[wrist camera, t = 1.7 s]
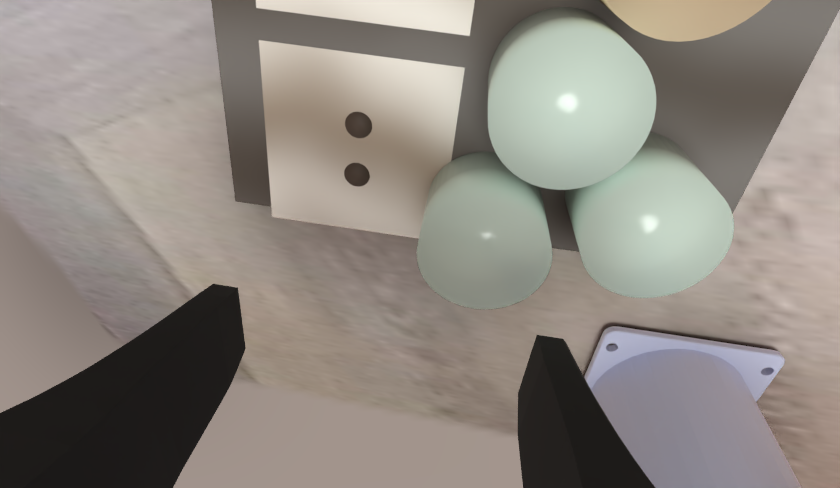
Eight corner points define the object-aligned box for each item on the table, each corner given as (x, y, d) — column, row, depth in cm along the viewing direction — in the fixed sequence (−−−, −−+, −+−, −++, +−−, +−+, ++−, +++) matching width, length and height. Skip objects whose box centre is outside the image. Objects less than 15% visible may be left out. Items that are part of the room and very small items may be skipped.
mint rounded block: (528, 258, 21) (535, 317, 18) (421, 243, 21) (410, 299, 18) (555, 160, 18) (568, 210, 15) (434, 143, 18) (423, 189, 15)
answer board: (691, 268, 21) (698, 280, 20) (244, 202, 22) (236, 211, 21) (977, -299, 12) (1007, -311, 11) (180, -381, 12) (162, -398, 12)
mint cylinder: (602, 150, 18) (624, 199, 15) (477, 133, 18) (475, 178, 15) (645, 16, 15) (683, 43, 12) (501, -2, 16) (504, 19, 13)
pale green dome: (667, 246, 20) (700, 306, 17) (553, 232, 20) (565, 288, 17) (711, 139, 17) (760, 185, 14) (581, 124, 17) (601, 166, 14)
